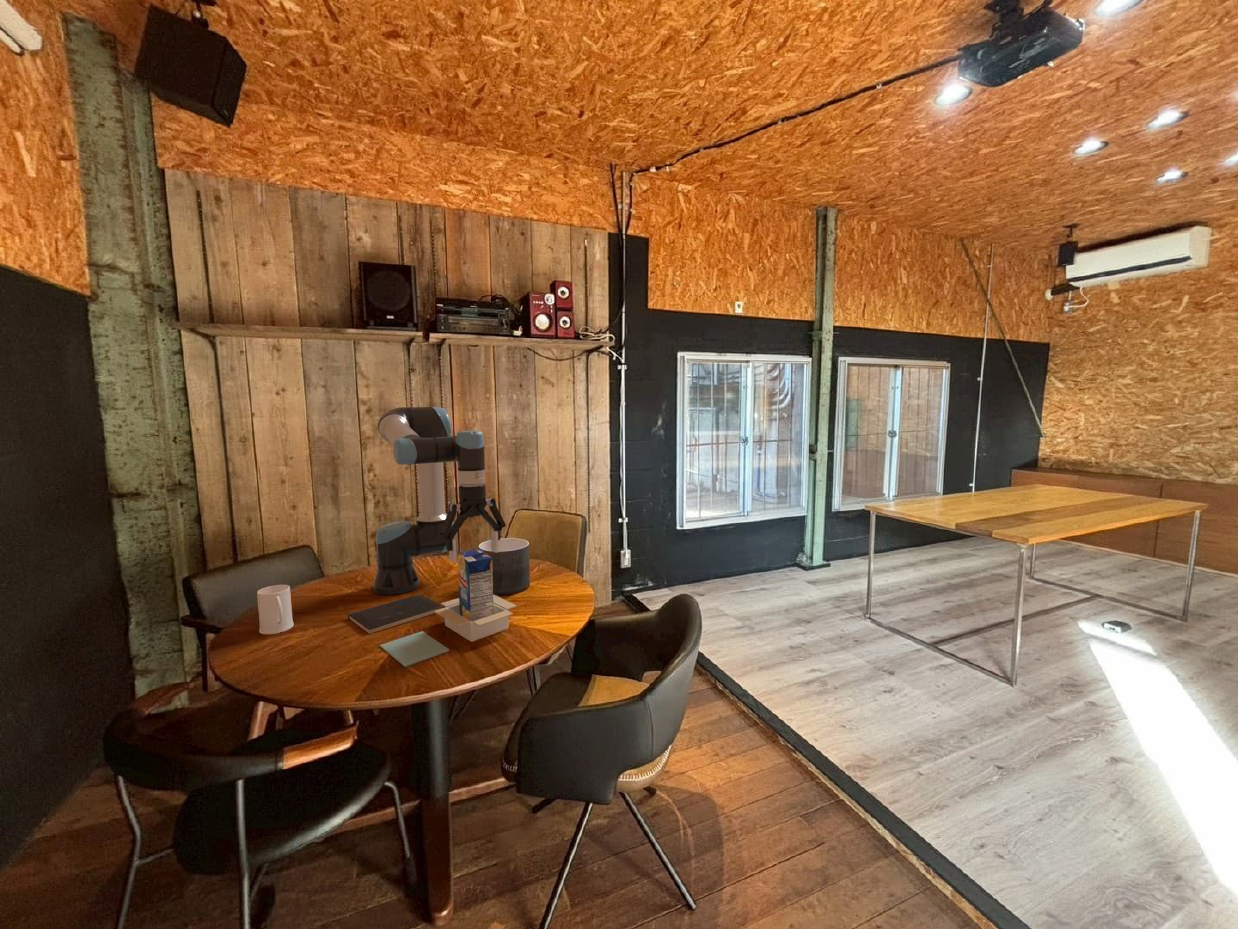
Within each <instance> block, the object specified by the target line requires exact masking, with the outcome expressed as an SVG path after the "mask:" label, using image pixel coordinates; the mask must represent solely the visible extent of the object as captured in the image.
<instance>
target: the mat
mask: <svg viewBox="0 0 1238 929" xmlns="http://www.w3.org/2000/svg"><path fill="white" fill-rule="evenodd" d="M379 646H380V648H381V649H383V650H384V651H385V652H386V653H387V654H388V655H390V656H391V657H392V658H393V659H394V660H396V661H397V662H398V663H400V665H401V666H403V667H404V668H407V667H409V666H412V665H414V664H417V663H420V662H423V661H425V660H428V659H431V658H434V657H436V656H439V655H442V654H445V653H447V652H450V649H449V648H448V647H447V646H445V645H444V644H442V643H440V642H439V641H437V640H436V639H435V638H433V637H432V636H430V635H429V634H428V633H426V632H425V631H423V630H422V631H418V632H416V633H413V634H409V635H406V636H404V637H400V638H397V639H394V640H391V641H388V642H386V643H382V644H379Z"/></svg>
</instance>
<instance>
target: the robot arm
mask: <svg viewBox="0 0 1238 929" xmlns="http://www.w3.org/2000/svg"><path fill="white" fill-rule="evenodd" d="M452 429H453V428H452V423H451V419H450V416H449V413H448V412H447V411H446V409H445V408H443V407H439V406H414V407H413V406H411V407H410V406H409V407H407V406H403V407H402V406H401V407H396V408H392V409H391V410H388V411H387V412H385V413H384V414H383V415H381V417H380V418H379V420H378V422H377V430H378V434H379V435H380V436H381V438H382V439H384V440H385V441H386V442H389V443H391V444H392V446H393V448H392V449H393V458H394V461H395V463H396V464H397V465H401V466H403V465H404V466H406V465H408V466H412V465H418V469H417V470H418V488H419V489H418V490H419V508H420V509H419V510H420V514H419V515H418V516H417V517H416V523H415V524H412V523H411V521H410V520H400V521H394V522H390V523H387V524H384V525H382V526H380V527H378V529H377V530H376V532H375V535H376V536H375V544H376V555H377V556H376V557H377V558H376V559H377V570H376V574H375V578H374V581H373V592H374V594H378V595H382V596H383V595H384V596H391V595H399V594H405V593H409V592H412V591H414V590H416V589H417V588H418V587H419V586H420V580H419V579H420V577H419V576H418V573H417V571H416V569H415V567H414V558H415V557H422V556H429V555H434V554H442V553H445V552H448V555H449V556H448V558H449V562H450V563H451V562H452V563H458V554H457V539H456V535H457V534H458V531H459V530H460V528H462V526H463V525H464V523H465V521H466V520H468V518H474V517H480V516H481V517H482V518H483V519H484V521H486V522H487V524H488V525H490V527H491V528H492V529H490V540H491V551H493V552H496V553H498V552H499V551H498V541H499V540H500V539H501V531H503V528H505V527H506V526H507V525H506V522H505V520H504V518H503V516H502V514H501V513H500V511H499V509H498V506H497V502H496V499H495V498H493V497H487V491H486V489H487V488H486V485H485V483H486V470H485V469H486V467H485V466H486V463H485V460H486V458H485V457H486V455H485V444H486V443H485V437H484V432H482V431H481V430H461V431H457V432H456V435H452ZM455 462H457V483H458V484H459V486H458V498H459V501H458V502H459V503H457V504H456V503H449V504H448V512H447V513H446V503H445V500H446V499H445V478H444V477H445V475H444V463H455ZM486 497H487V499H486ZM487 506H488V509H489V510H490V512H491V514H492V516H493V517H492V516H491V515H490V513H489V512H488V510H486V507H487ZM459 510H460V512H459ZM457 512H459V513H458V514H457ZM456 515H457V517H456ZM455 518H456V519H455Z"/></svg>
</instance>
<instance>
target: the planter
mask: <svg viewBox="0 0 1238 929" xmlns="http://www.w3.org/2000/svg"><path fill="white" fill-rule="evenodd" d="M478 549H481V550H482V551H483V552H485V553H486V554H487V555H489V556H490V557H491V558H492V575H493V595H496V596H508V595H514V594H518V593H521V592H523V591H525V590H527V589H528V588H530V585H531V582H530V574H531V573H530V571H531V570H530V542H529V541H528V540H526V539H522V538H516V537H502V538H501V537H500V540H499V541H498V551H499V552H498V553H496V552H493V551H491V539H489V540H486V541H483V542H481V543H479V545H478Z"/></svg>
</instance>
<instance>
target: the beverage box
mask: <svg viewBox="0 0 1238 929" xmlns="http://www.w3.org/2000/svg"><path fill="white" fill-rule="evenodd" d="M457 571H458V572H457V576H458V577H457V578H458V598H459V605H460V615H461V616H462V617H464V618H466V619H468V620H469V621H471V622H473V621H476V620H479V619H482V618H484V617H487V616H490V615H493V614H494V609H493V575H492V558H491V557H490V556H489V555H487V554H486V553H485V552H483V551H482V550H481V549H479V548H478V549H472V550H465V551H459V552H457Z"/></svg>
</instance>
